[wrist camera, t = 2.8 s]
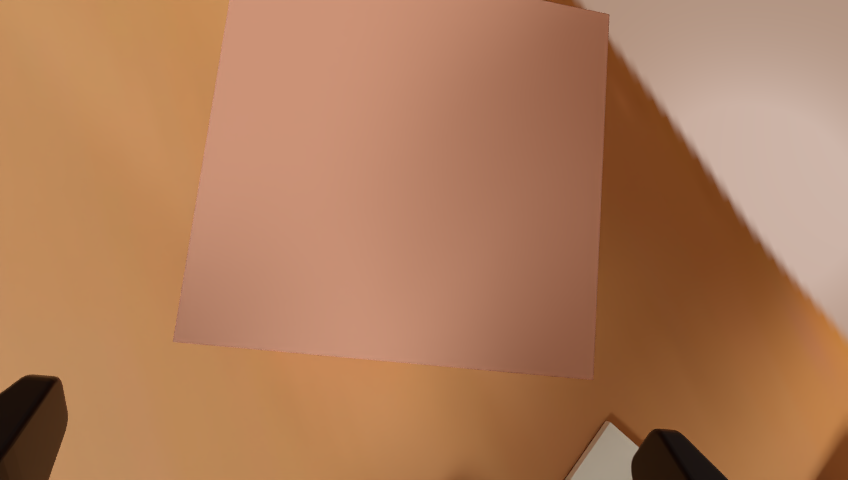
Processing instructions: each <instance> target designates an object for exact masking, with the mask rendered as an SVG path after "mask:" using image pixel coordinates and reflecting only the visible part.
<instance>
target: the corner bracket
mask: <svg viewBox="0 0 848 480" xmlns="http://www.w3.org/2000/svg"><path fill="white" fill-rule="evenodd" d="M638 449H639V447H638V446H637V445H636V444H634V443H633V442H632V441H631V440H630V439H629V438H628V437H627V436H625V435H624V434H623V433H622V432H621V431H620V430H619V429H618V428H616V427H615V426H614V425H613V424H612V423H611V422H608V421H605V423H604V424H603V426H602V427H601V429H600V430H599V431H598V433H597V434H596V436H595V437H594V439H593V440H592V441H591V443H590V444H589V446H588V447H587V449H586V450H585V451H584V453H583V454H582V456H581V457H580V459H579V460H578V462H577V463H576V464H575V466H574V467H573V469H572V470H571V472H570V473H569V474H568V476H567V477H566V479H565V480H633V479H632V474H631V462H632V459H633V456H634V454H635V453H636V452H637V450H638Z"/></svg>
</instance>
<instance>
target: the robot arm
mask: <svg viewBox="0 0 848 480" xmlns="http://www.w3.org/2000/svg"><path fill="white" fill-rule="evenodd" d="M67 422H68V411H67V406H66V401H65V396H64V391H63V385H62V382H61V380H60V379H59V378H58V377H55V376H44V375H27V376H24V377H22V378H21V379H19V380H18V381H16V382H15V383H14V384H12V385H11V386H10V387H8V388H7V389H6V390H4V391H3V392H2V393H0V480H49V477H50V474H51V471H52V468H53V465H54V462H55V460H56V457H57V454H58V451H59V448H60V445H61V442H62V440H63V437H64V434H65V431H66V427H67ZM631 474H632V479H633V480H728V479H727V478H726V477H725V476H724V475H723V474H722V473H721V472H720V471H719V470H718V469H717V468H716V467H715V466H714V465H713V464H712V463H711V462H710V461H709V460H708V459H707V458H706V457H705V456H704V455H703V454H702V453H701V452H700V451H699V450H698V449H697V448H696V447H695V446H694V445H693V444H692V443H691V442H690V441H689V440H688V439H687V438H686V437H685V436H683V435H682V434H681V433H680V432H678V431H675V430H667V429H654V430H652V431H651V432H650V433H649V434H648V436H647V437H646V438H645V440H644V441H643V443H642V444H641V446H640V447H639V449H638V450H637V452H636V453H635V454H634V456H633V459H632V462H631Z"/></svg>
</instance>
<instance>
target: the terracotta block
mask: <svg viewBox="0 0 848 480" xmlns="http://www.w3.org/2000/svg"><path fill="white" fill-rule="evenodd" d="M608 32H609V14H605V13H600V12H596V11H591V10H586V9H581V8H577V7H572V6H567V5H562V4H558V3H553V2H548V1H544V0H230V1H229V7H228V13H227V19H226V25H225V31H224V37H223V43H222V49H221V55H220V61H219V67H218V73H217V79H216V85H215V91H214V97H213V103H212V109H211V115H210V121H209V127H208V133H207V139H206V145H205V152H204V158H203V164H202V170H201V176H200V182H199V188H198V194H197V200H196V206H195V212H194V218H193V224H192V230H191V236H190V242H189V248H188V254H187V260H186V266H185V272H184V278H183V284H182V290H181V296H180V302H179V308H178V314H177V320H176V326H175V332H174V338H173V342H181V343H192V344H203V345H214V346H225V347H236V348H247V349H258V350H269V351H280V352H291V353H302V354H313V355H324V356H335V357H346V358H357V359H368V360H379V361H390V362H401V363H412V364H423V365H434V366H445V367H456V368H467V369H478V370H489V371H500V372H511V373H522V374H533V375H544V376H555V377H566V378H577V379H588V380H593V375H594V352H595V329H596V306H597V283H598V261H599V238H600V215H601V192H602V169H603V146H604V123H605V101H606V78H607V55H608Z"/></svg>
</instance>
